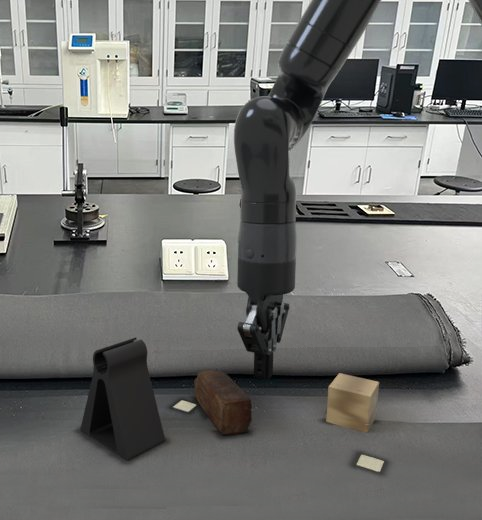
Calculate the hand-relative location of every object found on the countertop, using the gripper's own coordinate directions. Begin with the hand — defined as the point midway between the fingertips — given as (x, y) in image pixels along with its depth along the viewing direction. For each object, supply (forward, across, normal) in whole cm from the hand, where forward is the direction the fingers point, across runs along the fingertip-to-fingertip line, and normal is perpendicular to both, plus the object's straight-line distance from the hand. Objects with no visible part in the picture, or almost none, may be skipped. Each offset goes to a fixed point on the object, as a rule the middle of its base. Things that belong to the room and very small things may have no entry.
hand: (263, 376), depth 74 cm
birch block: (+4, +1, -12) cm, 12 cm away
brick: (+4, -8, +3) cm, 9 cm away
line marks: (+3, -8, -5) cm, 10 cm away
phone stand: (+3, -19, +10) cm, 22 cm away
